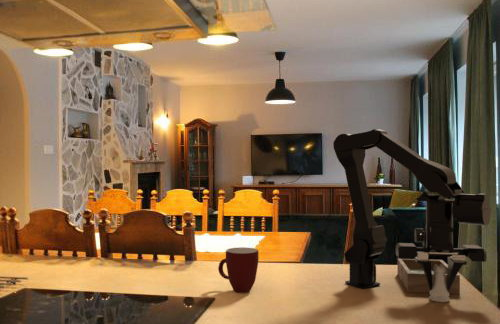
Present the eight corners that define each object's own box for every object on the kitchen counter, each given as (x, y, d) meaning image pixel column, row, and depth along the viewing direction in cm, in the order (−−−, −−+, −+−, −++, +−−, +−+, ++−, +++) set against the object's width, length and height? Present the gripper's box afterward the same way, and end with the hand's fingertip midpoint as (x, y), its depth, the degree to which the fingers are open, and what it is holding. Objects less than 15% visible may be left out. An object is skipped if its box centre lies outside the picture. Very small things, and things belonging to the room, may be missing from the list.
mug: (211, 292, 114) (211, 251, 114) (223, 284, 121) (223, 246, 121) (252, 296, 110) (252, 254, 110) (262, 288, 118) (262, 248, 118)
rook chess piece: (453, 303, 106) (453, 267, 106) (433, 302, 106) (433, 267, 106) (445, 297, 110) (445, 263, 110) (426, 297, 110) (426, 263, 110)
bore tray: (459, 294, 113) (459, 275, 113) (407, 291, 115) (407, 273, 115) (442, 276, 130) (442, 259, 130) (397, 274, 132) (397, 258, 132)
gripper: (472, 218, 114) (472, 282, 114) (392, 216, 117) (392, 279, 117) (487, 224, 103) (487, 295, 103) (399, 222, 106) (399, 291, 106)
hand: (439, 289), depth 108 cm, fingers closed on rook chess piece, 3 cm apart
